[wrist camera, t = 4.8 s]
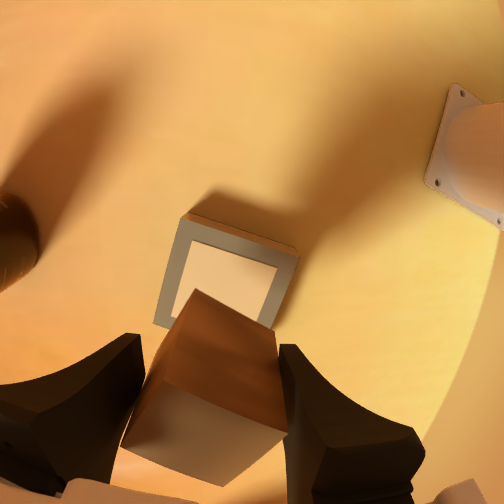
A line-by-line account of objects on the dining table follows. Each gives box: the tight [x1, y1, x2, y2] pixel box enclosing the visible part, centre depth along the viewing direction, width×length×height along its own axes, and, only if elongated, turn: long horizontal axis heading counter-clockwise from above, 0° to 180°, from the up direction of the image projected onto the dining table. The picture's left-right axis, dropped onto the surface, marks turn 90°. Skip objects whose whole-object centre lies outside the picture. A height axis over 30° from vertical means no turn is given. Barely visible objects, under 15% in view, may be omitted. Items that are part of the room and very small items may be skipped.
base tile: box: [153, 212, 300, 329], centre depth 20 cm, size 7×7×2 cm
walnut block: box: [120, 288, 289, 487], centre depth 11 cm, size 4×4×6 cm
